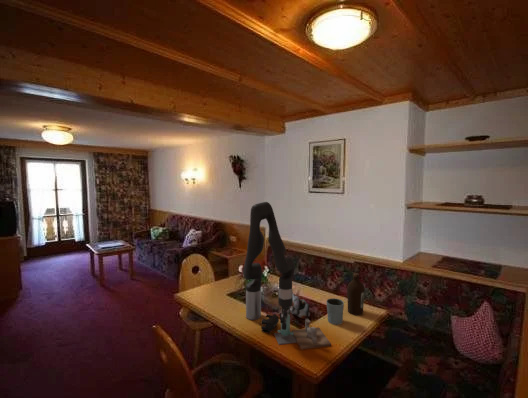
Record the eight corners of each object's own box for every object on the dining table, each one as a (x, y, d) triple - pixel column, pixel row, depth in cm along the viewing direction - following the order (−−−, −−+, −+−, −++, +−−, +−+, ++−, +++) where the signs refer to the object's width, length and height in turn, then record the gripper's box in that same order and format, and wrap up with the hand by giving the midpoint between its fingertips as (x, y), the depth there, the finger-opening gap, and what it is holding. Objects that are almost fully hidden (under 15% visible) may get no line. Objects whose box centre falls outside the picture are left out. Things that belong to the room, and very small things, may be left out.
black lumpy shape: (272, 334, 154) (272, 322, 154) (260, 332, 157) (260, 320, 157) (278, 326, 163) (279, 314, 163) (267, 323, 166) (267, 312, 166)
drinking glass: (340, 327, 162) (341, 306, 161) (323, 322, 167) (324, 302, 166) (345, 319, 171) (345, 300, 170) (329, 315, 176) (329, 296, 175)
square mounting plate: (291, 332, 156) (291, 318, 156) (318, 329, 160) (319, 315, 159) (301, 349, 141) (301, 334, 140) (330, 345, 144) (331, 330, 143)
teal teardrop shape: (276, 334, 149) (276, 314, 149) (279, 329, 154) (278, 310, 153) (292, 336, 146) (292, 317, 146) (294, 332, 151) (294, 313, 150)
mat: (274, 334, 154) (274, 333, 154) (291, 332, 156) (291, 331, 156) (278, 344, 145) (278, 343, 145) (297, 342, 147) (297, 341, 147)
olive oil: (345, 313, 178) (346, 275, 176) (348, 306, 188) (349, 270, 186) (362, 317, 173) (363, 277, 171) (365, 310, 183) (366, 272, 181)
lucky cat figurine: (309, 320, 169) (299, 302, 166) (291, 324, 174) (281, 307, 171) (311, 303, 183) (302, 286, 180) (295, 307, 187) (285, 291, 184)
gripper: (282, 289, 157) (282, 319, 158) (274, 300, 143) (274, 332, 144) (295, 291, 154) (295, 321, 155) (289, 302, 141) (288, 335, 142)
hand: (285, 326), depth 150 cm, fingers closed on teal teardrop shape, 4 cm apart
